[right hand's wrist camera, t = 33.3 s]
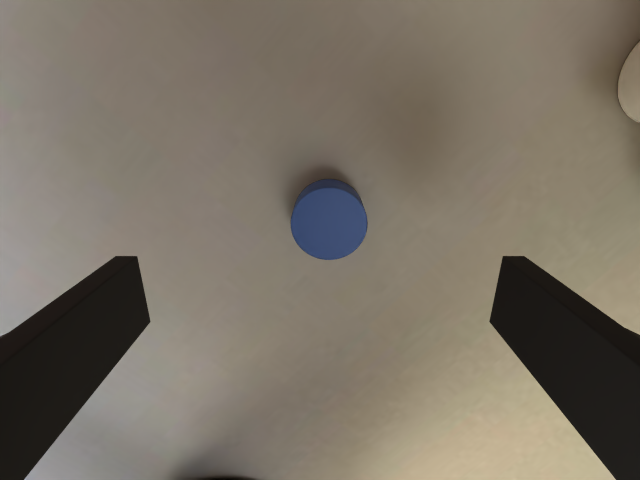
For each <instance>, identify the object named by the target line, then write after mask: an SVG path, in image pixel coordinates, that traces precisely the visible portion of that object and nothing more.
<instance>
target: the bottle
mask: <svg viewBox="0 0 640 480" xmlns="http://www.w3.org/2000/svg"><path fill="white" fill-rule="evenodd" d="M618 99H619V102H620V105H621V107H622V109H623V111H624V112H625V113H626V115H628V116H629V117H630V118H631V119H633V120H634V121H636V122H639V123H640V41H639V43H638V44H637V45H636V46H635V47H634V48H633V50H632V51H631V52H630V54H629V56H628V57H627V59H626V61H625V63H624V65H623V67H622V70H621V73H620V76H619V80H618Z"/></svg>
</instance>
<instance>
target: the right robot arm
mask: <svg viewBox="0 0 640 480" xmlns="http://www.w3.org/2000/svg"><path fill="white" fill-rule="evenodd" d="M149 323H150V317H149V312H148V307H147V303H146V298H145V293H144V288H143V283H142V278H141V273H140V268H139V263H138V258H137V256H115V257H114V258H113V259H111V260H110V261H108V262H107V263H106V264H104V265H103V266H101V267H100V268H99V269H97V270H96V271H94V272H93V273H92V274H90V275H89V276H87V277H86V278H85V279H83V280H82V281H80V282H79V283H78V284H76V285H75V286H73V287H72V288H71V289H69V290H68V291H66V292H65V293H64V294H62V295H61V296H59V297H58V298H57V299H55V300H54V301H52V302H51V303H50V304H48V305H47V306H45V307H44V308H43V309H41V310H40V311H38V312H37V313H36V314H34V315H33V316H31V317H30V318H29V319H27V320H26V321H24V322H23V323H22V324H20V325H19V326H17V327H16V328H15V329H13V330H12V331H10V332H9V333H7V334H5V335H3V336H1V337H0V480H24V479H25V478H26V476H27V475H28V474H29V473H30V471H31V470H32V469H33V468H34V466H35V465H36V464H37V463H38V461H39V460H40V459H41V458H42V456H43V455H44V454H45V453H46V451H47V450H48V449H49V448H50V446H51V445H52V444H53V443H54V441H55V440H56V439H57V438H58V436H59V435H60V434H61V433H62V431H63V430H64V429H65V428H66V426H67V425H68V424H69V423H70V421H71V420H72V419H73V418H74V416H75V415H76V414H77V413H78V411H79V410H80V409H81V408H82V406H83V405H84V404H85V403H86V401H87V400H88V399H89V398H90V396H91V395H92V394H93V393H94V391H95V390H96V389H97V388H98V386H99V385H100V384H101V383H102V381H103V380H104V379H105V378H106V377H107V375H108V374H109V373H110V372H111V370H112V369H113V368H114V367H115V365H116V364H117V363H118V362H119V360H120V359H121V358H122V357H123V355H124V354H125V353H126V352H127V350H128V349H129V348H130V347H131V345H132V344H133V343H134V342H135V340H136V339H137V338H138V337H139V335H140V334H141V333H142V332H143V330H144V329H145V328H146V327H147V325H148V324H149ZM490 323H491V324H492V325H493V327H494V328H495V329H496V330H497V332H498V333H499V334H500V335H501V337H502V338H503V339H504V340H505V342H506V343H507V344H508V345H509V347H510V348H511V349H512V350H513V352H514V353H515V354H516V355H517V357H518V358H519V359H520V360H521V362H522V363H523V364H524V365H525V367H526V368H527V369H528V370H529V372H530V373H531V374H532V375H533V377H534V378H535V379H536V380H537V381H538V383H539V384H540V385H541V386H542V388H543V389H544V390H545V391H546V393H547V394H548V395H549V396H550V398H551V399H552V400H553V401H554V403H555V404H556V405H557V406H558V408H559V409H560V410H561V411H562V413H563V414H564V415H565V416H566V418H567V419H568V420H569V421H570V423H571V424H572V425H573V426H574V428H575V429H576V430H577V431H578V433H579V434H580V435H581V436H582V438H583V439H584V440H585V441H586V443H587V444H588V445H589V446H590V448H591V449H592V450H593V451H594V453H595V454H596V455H597V456H598V458H599V459H600V460H601V461H602V463H603V464H604V465H605V466H606V468H607V469H608V470H609V471H610V473H611V474H612V475H613V476H614V478H615V479H616V480H640V335H639V334H636V333H634V332H632V331H630V330H628V329H626V328H624V327H623V326H621V325H620V324H618V323H617V322H616V321H614V320H613V319H611V318H610V317H609V316H607V315H606V314H604V313H603V312H602V311H600V310H599V309H597V308H596V307H595V306H593V305H592V304H590V303H589V302H588V301H586V300H585V299H583V298H582V297H581V296H579V295H578V294H576V293H575V292H574V291H572V290H571V289H569V288H568V287H567V286H565V285H564V284H562V283H561V282H560V281H558V280H557V279H555V278H554V277H553V276H551V275H550V274H548V273H547V272H546V271H544V270H543V269H541V268H540V267H539V266H537V265H536V264H534V263H533V262H532V261H530V260H529V259H527V258H526V257H525V256H503V258H502V263H501V268H500V273H499V278H498V283H497V288H496V293H495V298H494V302H493V307H492V312H491V317H490Z"/></svg>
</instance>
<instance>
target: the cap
mask: <svg viewBox="0 0 640 480" xmlns="http://www.w3.org/2000/svg"><path fill="white" fill-rule="evenodd" d="M291 230H292V234H293V237H294V239H295V241H296V243H297V244H298V245H299V247H300V248H301V249H302V250H303V251H305V252H306V253H307V254H309V255H311V256H313V257H316V258H319V259H324V260H333V259H339V258H342V257H345V256H347V255H349V254H350V253H352V252H353V251H354V250H356V249H357V248H358V247H359V245H360V244H361V243H362V241H363V239H364V237H365V234H366V231H367V216H366V212H365V210H364V207H363V204H362V201H361V199H360V197H359V195H358V194H357V192H356V191H355V190H354V189H353V188H352V187H351V186H349V185H348V184H346V183H344V182H342V181H338V180H333V179H324V180H319V181H316V182H314V183H312V184H310V185H309V186H307V187H306V188H305V189H304V190H303V191H302V192H301V193H300V195H299V196H298V198H297V200H296V203H295V206H294V210H293V213H292V217H291Z"/></svg>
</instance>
